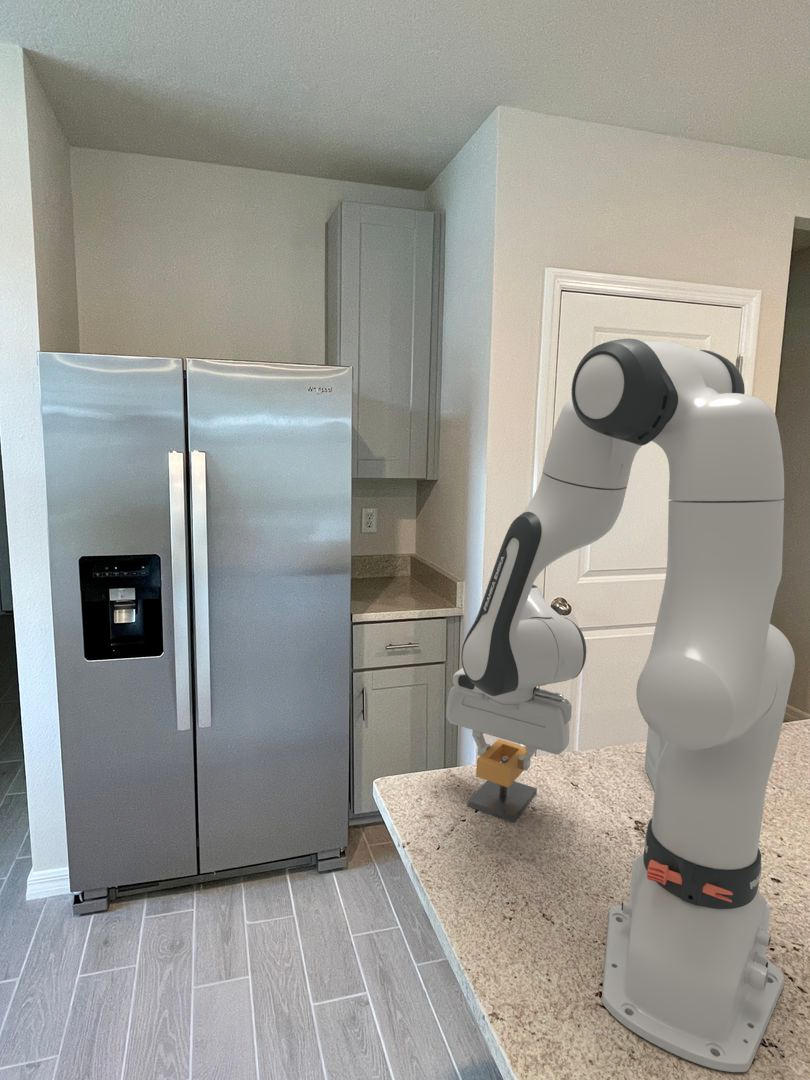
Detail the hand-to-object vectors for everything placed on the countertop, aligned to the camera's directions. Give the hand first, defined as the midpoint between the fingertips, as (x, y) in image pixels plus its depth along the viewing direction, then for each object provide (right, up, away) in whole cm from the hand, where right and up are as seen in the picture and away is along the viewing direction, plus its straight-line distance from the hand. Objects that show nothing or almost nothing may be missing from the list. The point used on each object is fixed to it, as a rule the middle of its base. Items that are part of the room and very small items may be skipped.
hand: (503, 761), depth 105 cm
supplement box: (+32, -7, +8) cm, 33 cm away
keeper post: (0, -7, +1) cm, 7 cm away
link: (0, -2, 0) cm, 2 cm away
